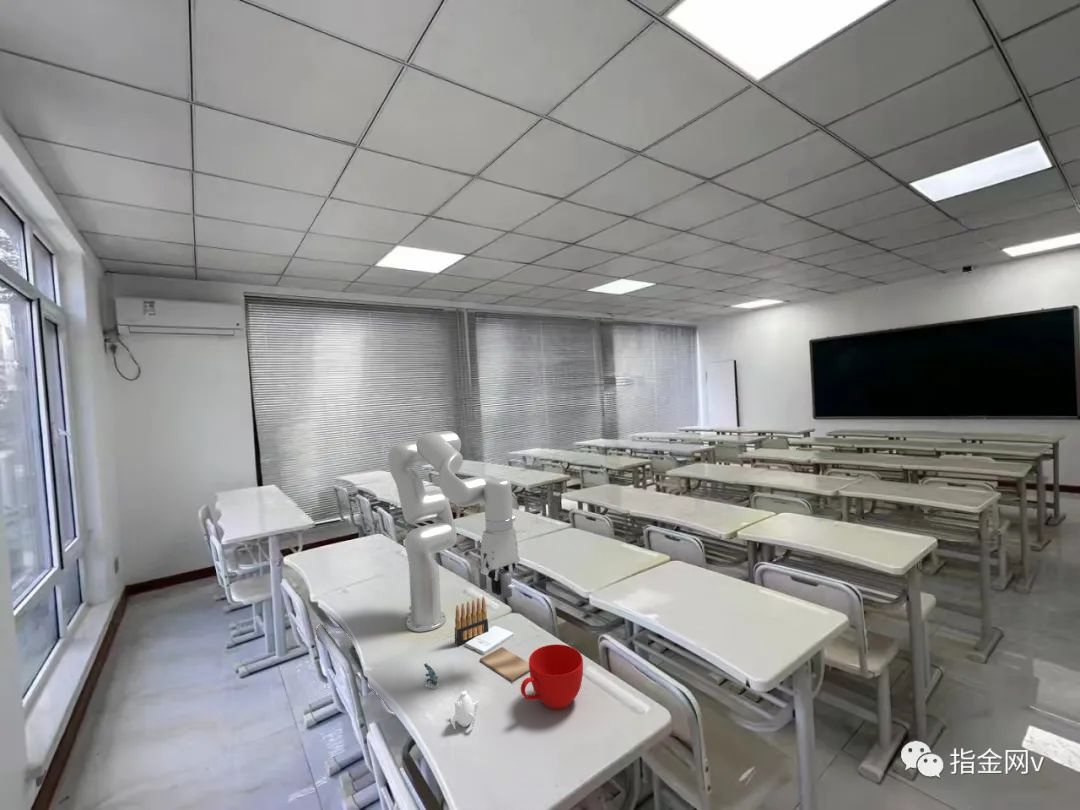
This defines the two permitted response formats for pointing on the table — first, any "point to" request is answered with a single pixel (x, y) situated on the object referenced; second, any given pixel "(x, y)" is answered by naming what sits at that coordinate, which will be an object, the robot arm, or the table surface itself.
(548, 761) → the table surface
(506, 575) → the connector
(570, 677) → the ceramic cup
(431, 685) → the sculpture
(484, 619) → the ammunition clip
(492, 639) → the external hard drive
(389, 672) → the table surface
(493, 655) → the wood pad
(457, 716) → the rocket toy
